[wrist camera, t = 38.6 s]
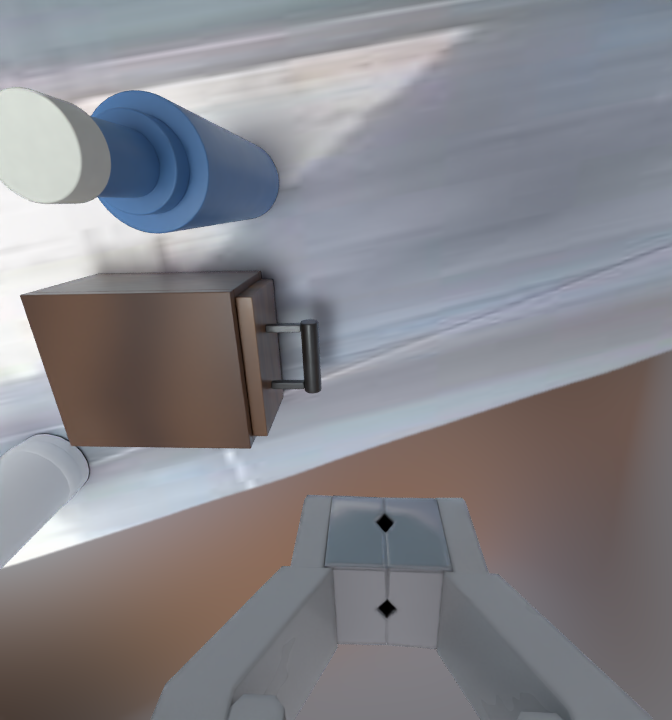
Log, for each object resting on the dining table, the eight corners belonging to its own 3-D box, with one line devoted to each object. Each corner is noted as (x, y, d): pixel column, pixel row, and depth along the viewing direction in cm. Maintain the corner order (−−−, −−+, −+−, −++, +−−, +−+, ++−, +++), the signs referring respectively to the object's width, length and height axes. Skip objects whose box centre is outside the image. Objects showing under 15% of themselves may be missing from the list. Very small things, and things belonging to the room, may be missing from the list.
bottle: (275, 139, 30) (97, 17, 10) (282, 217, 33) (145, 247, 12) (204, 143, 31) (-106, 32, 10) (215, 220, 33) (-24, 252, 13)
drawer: (321, 278, 33) (311, 296, 27) (326, 397, 38) (319, 436, 31) (116, 281, 35) (61, 299, 28) (144, 396, 39) (102, 434, 33)
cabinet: (260, 270, 34) (229, 291, 26) (273, 398, 39) (250, 448, 31) (96, 273, 35) (19, 295, 27) (128, 397, 40) (70, 446, 32)
